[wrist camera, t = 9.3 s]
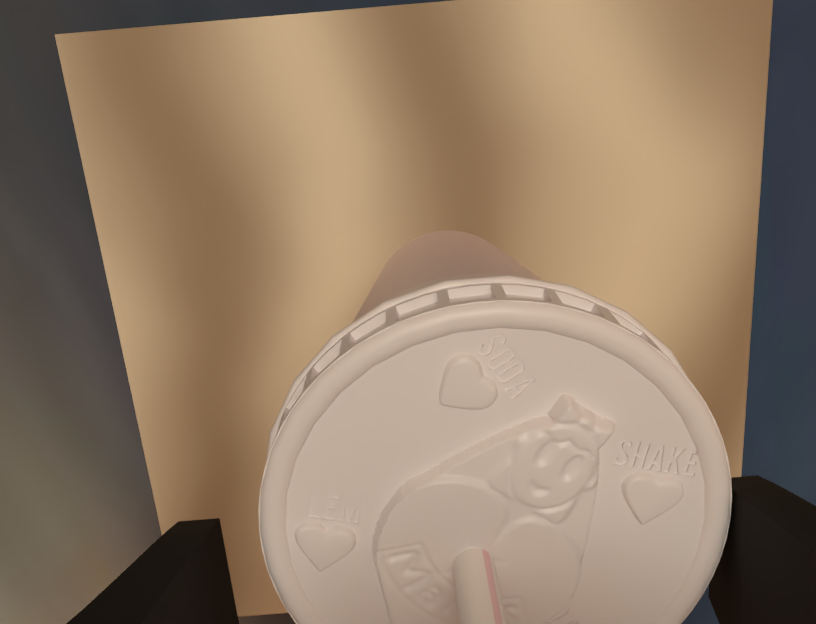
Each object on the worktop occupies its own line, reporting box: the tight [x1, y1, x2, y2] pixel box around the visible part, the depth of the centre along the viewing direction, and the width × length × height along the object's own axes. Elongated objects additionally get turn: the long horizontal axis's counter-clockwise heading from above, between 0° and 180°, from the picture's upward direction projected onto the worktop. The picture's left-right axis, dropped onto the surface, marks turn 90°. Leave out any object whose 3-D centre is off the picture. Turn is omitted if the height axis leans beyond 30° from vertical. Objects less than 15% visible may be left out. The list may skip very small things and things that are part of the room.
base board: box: [55, 0, 773, 617], centre depth 20 cm, size 16×16×2 cm
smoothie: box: [258, 231, 732, 624], centre depth 13 cm, size 6×6×14 cm
